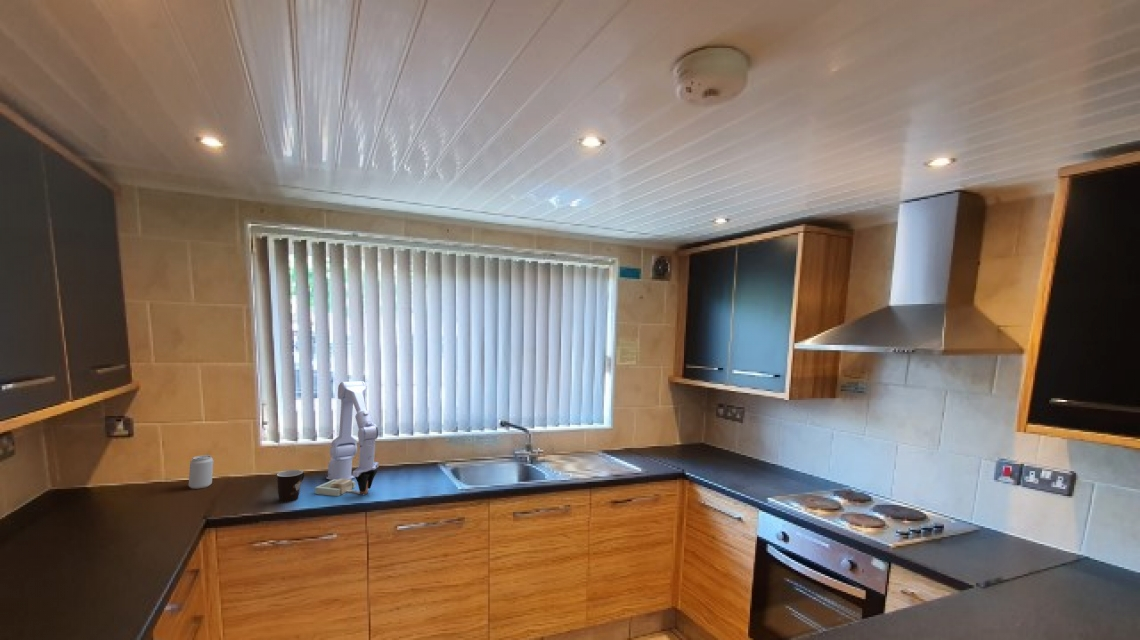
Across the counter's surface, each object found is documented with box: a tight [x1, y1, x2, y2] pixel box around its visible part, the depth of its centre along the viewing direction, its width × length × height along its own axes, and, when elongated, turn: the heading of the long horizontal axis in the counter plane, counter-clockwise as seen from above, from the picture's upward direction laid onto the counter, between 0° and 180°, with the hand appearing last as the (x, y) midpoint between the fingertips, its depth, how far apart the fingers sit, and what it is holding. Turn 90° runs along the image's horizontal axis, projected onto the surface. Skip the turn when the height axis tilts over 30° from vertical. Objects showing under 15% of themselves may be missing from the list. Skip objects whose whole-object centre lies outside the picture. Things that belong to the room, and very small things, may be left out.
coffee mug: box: [276, 469, 305, 503], centre depth 180 cm, size 12×9×10 cm
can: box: [188, 454, 214, 490], centre depth 189 cm, size 8×8×12 cm
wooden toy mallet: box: [331, 479, 369, 496], centre depth 189 cm, size 14×6×5 cm, turn 81°
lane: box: [314, 479, 356, 497], centre depth 190 cm, size 10×11×2 cm
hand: (365, 489), depth 188 cm, fingers closed on wooden toy mallet, 3 cm apart
